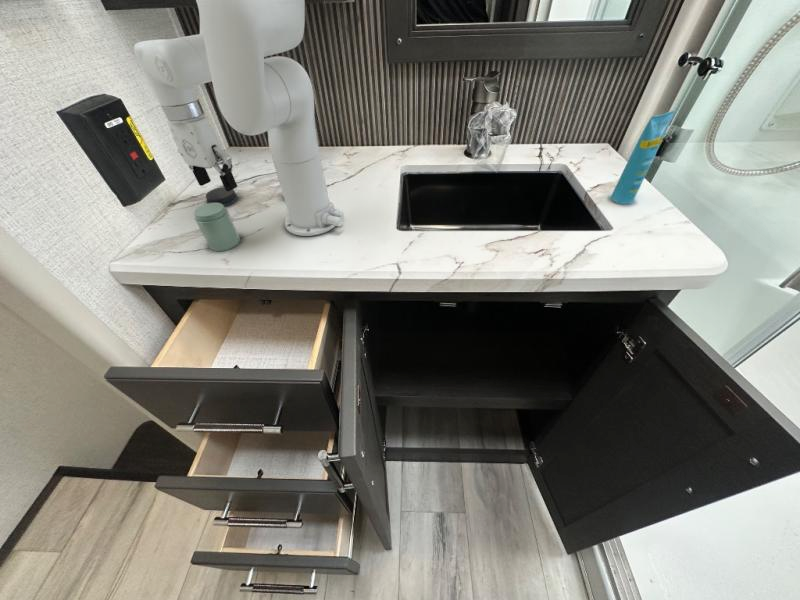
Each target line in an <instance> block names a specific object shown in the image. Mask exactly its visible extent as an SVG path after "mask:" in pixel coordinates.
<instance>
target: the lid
mask: <svg viewBox="0 0 800 600" xmlns="http://www.w3.org/2000/svg"><path fill="white" fill-rule="evenodd" d="M235 194H236V192H235V190H234V189H233V190H231V191H229V192H228V191H226V190H225V188H224V186H223V187H217V188H214V189H211V190H209V191H208V192H207V193H206V194H205V198H206V202H207V201H208V202H209V203H221V204H225V203H228V202H230V201H232V200H233V199H234V198H235V197H236V195H235Z"/></svg>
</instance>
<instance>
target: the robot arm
mask: <svg viewBox="0 0 800 600" xmlns="http://www.w3.org/2000/svg"><path fill="white" fill-rule="evenodd" d="M195 2H196V5H197V9H198V14H199V34H192V35H187V36H180V37H176V38H169V39H164V38H163V39H162V38H161V39H160V38H159V39H148V40H143V41H139V42H136V43H134V46H133V52H134V55H135V57H136V59H137V62H138V64H139V66H140V67H141V69H142V71H143V73H144V75H145V78H146V79H147V82H148V83H149V86H151V89H152V91H153V93H154V95H155V97H156V99H157V102H158V103H159V105H160V107H161V110H162V111H163V113H164V115H165V118H166V119H167V123H168V127H169V130H170V132H171V135H172V137H173V140H174V143H175V144H176V147H177V152H178V153H179V154H180V156H181V158H182V159H183V162H184V163H185V164H187V165H188V168H189V170H191V171H192V173H193V175H194V177H195V179H196V181H197V183H198V185H199V186H201V187H203V186H205V185H207V184H209V183H211V181H212V180H211V177H210V176H209V173H208V172H207V169H213V168H214V169H215V170H216V171H217V173H218V174H219V179H220V181H221V184H222V185H223V187H224V188H225V190H226V191H228V192H229V191H231V190H234V189H236V188H237V187H238V184H237V182H236V179H235V177H234V175H233V173H232V172H233V163H232V157H231V155H230V154H229V153H227V152H226V151H224V150H223V148H222V146H221V143H220V141H219V138H218V137H217V136H216V133H215V131H214V129H213V127H212V125H211V123H210V122H209V120H208V118H207V117H206V113H205V111H204V109H203V107H202V104H201V102H200V100H199V97H198V95H197V92H196V90H195V87H199V86H201V85H204V84H207V83H212V88H213V92H214V97H215V100H216V103H217V106H218V108H219V111H220V112H221V115H222V117H223V118H224V120H225V121H226V122H227V123H228V125H229V126H230V127H231V128H232V129H233V130H235V131H236V132H238V133H239V134H241V135H245V136H257V135H261V134H264V133H266V132H267V142H268V148H269V152H270V155H271V159H272V163H273V165H274V166H273V167H274V169H275V173H276V176H277V179H278V183H279V186H280V189H281V193H282V196H283V199H284V203H285V205H286V209H287V212H288V214H287V215H286V217H285V218H284V226H285V229H286V230H287V231H288V232H289V233H291V234H292V235H295V236H300V237H313V236H318V235H322V234H325V233H327V232H330V231H331V230H332V229H334V228H335V227H342V225H343V223H344V222H343V221H344V217H345V213H344V212H342V211H338V210H337V209H336V208H335V203H334V202H330V197H329V193H328V187H327V182H326V177H325V172H324V168H323V162H322V157H321V151H320V146H319V142H318V141H319V140H318V135H317V128H316V119H315V117H316V116H315V93H314V87H313V84H312V82H311V81H312V80H311V79H310V76H309V74H308V72H307V71H306V69H305V68H304V67H303V66H302V65H301V64H300V63H299V62H298V61H296V60H295V59H293V58H290V57H287V56H282V55H281V56H279V55H278V54H281V53H285V52H287V51H290V50H293V49H295V48H296V47H298V46H299V45H300V44H301V42H302V41H303V38H304V33H305V24H306V7H305V5H306V2H305V0H195ZM274 55H277V56H274ZM221 165H222V167H220V166H221Z"/></svg>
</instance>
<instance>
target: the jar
mask: <svg viewBox="0 0 800 600" xmlns="http://www.w3.org/2000/svg"><path fill="white" fill-rule="evenodd" d="M193 214H194V221H195V222H196V225H197V226H198V228H199V230H200V232H201V233H202V236H203V237H204V239H205V241H206V243H207V245H208V247H209V249H210V250H211V251H214V252H224V251H228V250H230V249H231V250H232V249H233V248H235V247H236V246H237V245H238V244H239V243H240V241H241V238H240V235H239V233H238V231H237V228H236V225H235V224H234V222H233V219H232V217H231V215H230V212H229V210H228V209H227V208H226V206H225V207H224V205H222V204H221V203H208V204H207V203H204V204H201V205H200V206H198V207H197V208H195V209H194V211H193Z"/></svg>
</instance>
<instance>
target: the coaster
mask: <svg viewBox="0 0 800 600" xmlns="http://www.w3.org/2000/svg"><path fill="white" fill-rule="evenodd" d="M235 195H236V197H235V198H234V199H233V200H232V201H230V202H228V203H225V204H222V205H224V207H225V208H226V207H228V206H231V205H233V204H234V203H236V202H237V201H238V199H239V197H238V195H237V193H235ZM208 203H209V202H208V201H207V200H206V204H208Z"/></svg>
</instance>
